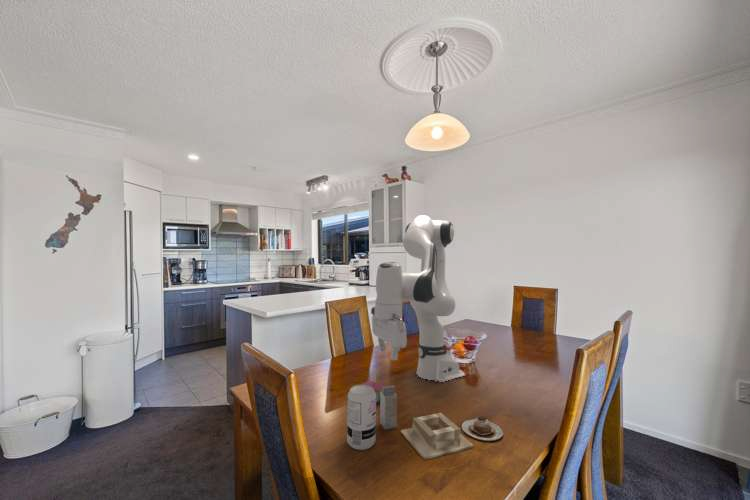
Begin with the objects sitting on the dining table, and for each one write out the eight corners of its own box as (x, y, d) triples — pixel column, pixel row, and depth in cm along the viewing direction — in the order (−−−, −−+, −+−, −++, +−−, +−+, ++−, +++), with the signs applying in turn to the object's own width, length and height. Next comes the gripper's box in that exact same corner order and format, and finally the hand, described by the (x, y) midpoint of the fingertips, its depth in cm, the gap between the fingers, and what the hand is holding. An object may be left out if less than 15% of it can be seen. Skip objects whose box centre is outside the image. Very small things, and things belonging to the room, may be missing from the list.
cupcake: (385, 397, 116) (386, 366, 117) (379, 407, 108) (379, 373, 109) (365, 394, 119) (365, 363, 120) (356, 403, 111) (357, 370, 112)
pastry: (511, 440, 90) (511, 424, 90) (476, 447, 86) (476, 430, 86) (486, 420, 101) (486, 406, 101) (454, 425, 98) (454, 411, 98)
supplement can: (347, 435, 91) (347, 384, 91) (374, 434, 92) (374, 383, 92) (346, 451, 83) (347, 395, 83) (376, 450, 83) (377, 395, 84)
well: (445, 422, 98) (445, 408, 99) (473, 447, 85) (473, 430, 85) (400, 432, 93) (400, 416, 93) (423, 460, 80) (423, 442, 80)
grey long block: (391, 421, 99) (391, 383, 100) (396, 427, 95) (396, 388, 96) (380, 423, 98) (380, 385, 98) (384, 429, 94) (385, 390, 95)
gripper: (412, 316, 90) (411, 364, 89) (385, 307, 109) (385, 346, 108) (392, 317, 88) (392, 366, 87) (369, 308, 107) (368, 347, 106)
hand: (387, 355), depth 98 cm, fingers open, 8 cm apart
